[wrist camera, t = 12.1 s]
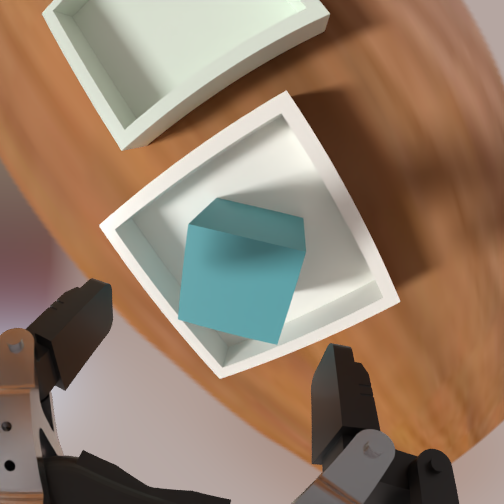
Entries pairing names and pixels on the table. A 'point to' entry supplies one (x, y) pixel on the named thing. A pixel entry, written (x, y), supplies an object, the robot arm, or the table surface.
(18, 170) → the table surface
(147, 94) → the sage tray
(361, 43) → the table surface
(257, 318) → the teal cube
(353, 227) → the cream tray
